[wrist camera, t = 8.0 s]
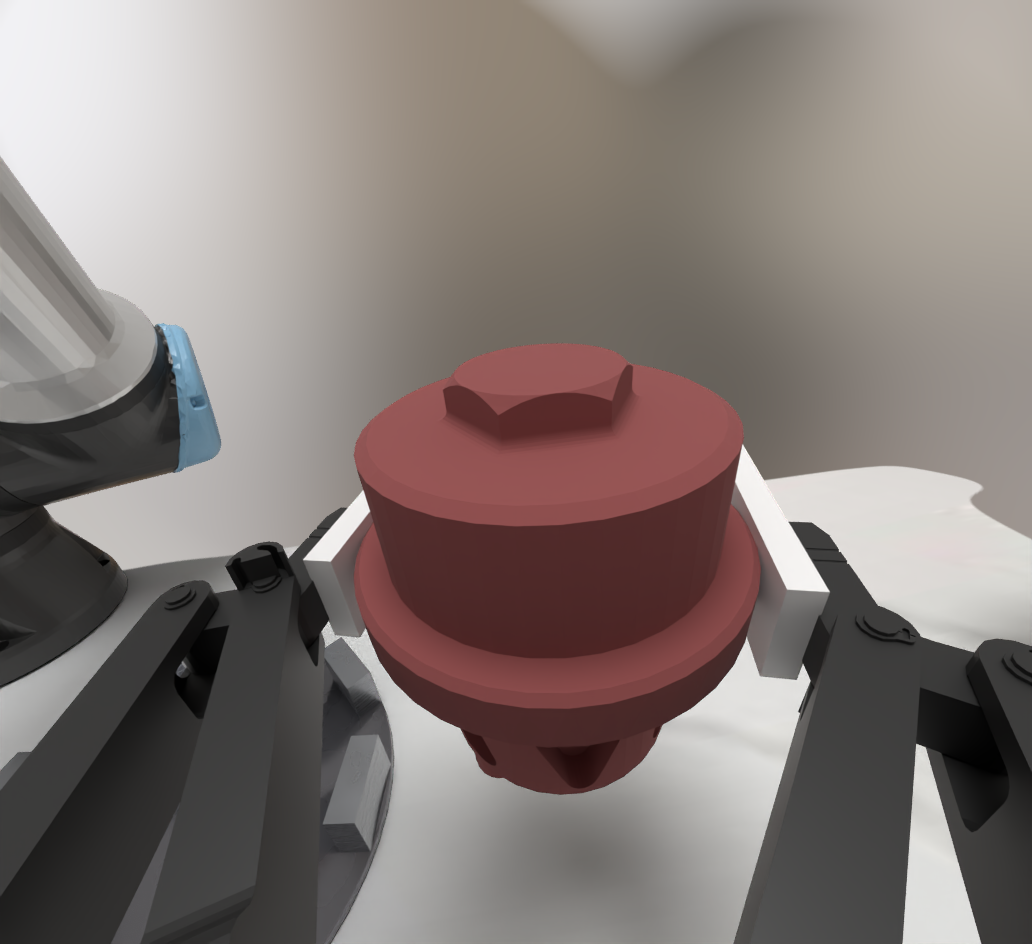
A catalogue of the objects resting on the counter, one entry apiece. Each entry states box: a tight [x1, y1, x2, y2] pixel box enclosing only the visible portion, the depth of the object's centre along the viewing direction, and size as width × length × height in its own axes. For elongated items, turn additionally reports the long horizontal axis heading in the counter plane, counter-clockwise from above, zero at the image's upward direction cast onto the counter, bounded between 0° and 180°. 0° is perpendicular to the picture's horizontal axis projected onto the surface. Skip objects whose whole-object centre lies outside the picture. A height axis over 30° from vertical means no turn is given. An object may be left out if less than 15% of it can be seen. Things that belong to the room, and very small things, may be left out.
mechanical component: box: [354, 343, 761, 795], centre depth 12 cm, size 12×10×10 cm
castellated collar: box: [0, 637, 394, 944], centre depth 23 cm, size 21×21×4 cm
